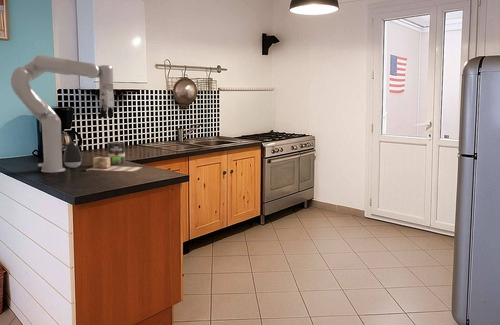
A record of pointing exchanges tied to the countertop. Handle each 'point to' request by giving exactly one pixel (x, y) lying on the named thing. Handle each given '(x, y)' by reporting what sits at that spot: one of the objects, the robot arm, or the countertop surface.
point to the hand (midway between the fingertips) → (107, 117)
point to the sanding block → (101, 162)
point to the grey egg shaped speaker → (72, 155)
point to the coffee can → (116, 153)
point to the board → (117, 168)
